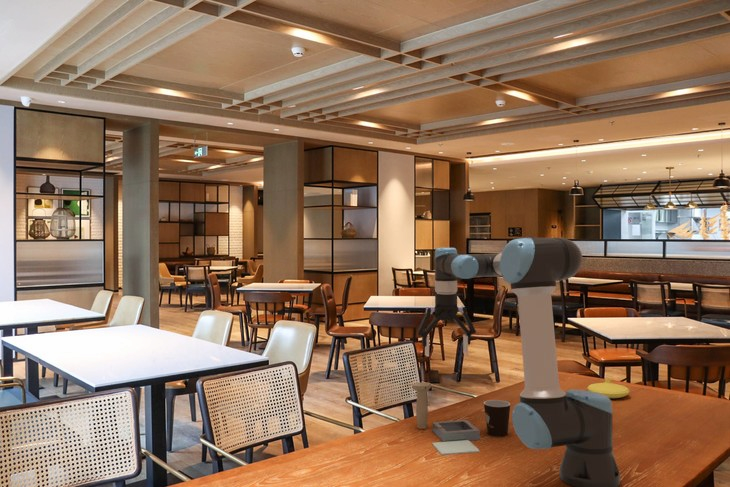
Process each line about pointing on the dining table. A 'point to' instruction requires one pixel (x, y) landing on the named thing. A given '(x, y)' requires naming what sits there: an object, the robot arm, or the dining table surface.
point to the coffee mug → (497, 417)
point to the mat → (455, 447)
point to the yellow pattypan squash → (609, 389)
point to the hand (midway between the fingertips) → (446, 355)
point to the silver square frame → (456, 430)
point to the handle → (421, 403)
